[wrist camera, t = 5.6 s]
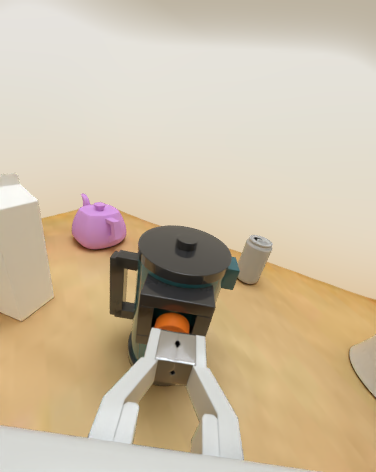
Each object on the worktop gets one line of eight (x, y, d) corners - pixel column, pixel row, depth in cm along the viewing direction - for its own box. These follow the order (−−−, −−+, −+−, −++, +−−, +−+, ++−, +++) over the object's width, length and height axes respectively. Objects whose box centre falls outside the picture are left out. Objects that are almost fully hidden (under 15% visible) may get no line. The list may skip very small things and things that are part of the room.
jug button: (185, 352, 18) (192, 329, 17) (150, 346, 18) (154, 322, 17) (186, 338, 20) (192, 315, 18) (153, 332, 20) (157, 309, 18)
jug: (207, 406, 25) (261, 291, 16) (88, 387, 25) (77, 257, 16) (204, 321, 37) (234, 228, 28) (124, 307, 36) (129, 208, 28)
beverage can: (244, 268, 57) (258, 232, 51) (261, 282, 52) (279, 244, 47) (229, 273, 53) (242, 235, 48) (247, 288, 49) (264, 248, 43)
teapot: (103, 221, 66) (103, 190, 62) (138, 247, 56) (141, 212, 51) (60, 229, 57) (55, 193, 52) (93, 262, 46) (91, 220, 41)
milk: (-8, 309, 31) (-62, 172, 22) (29, 286, 37) (-1, 167, 27) (22, 322, 30) (-20, 184, 21) (55, 296, 36) (34, 177, 26)
